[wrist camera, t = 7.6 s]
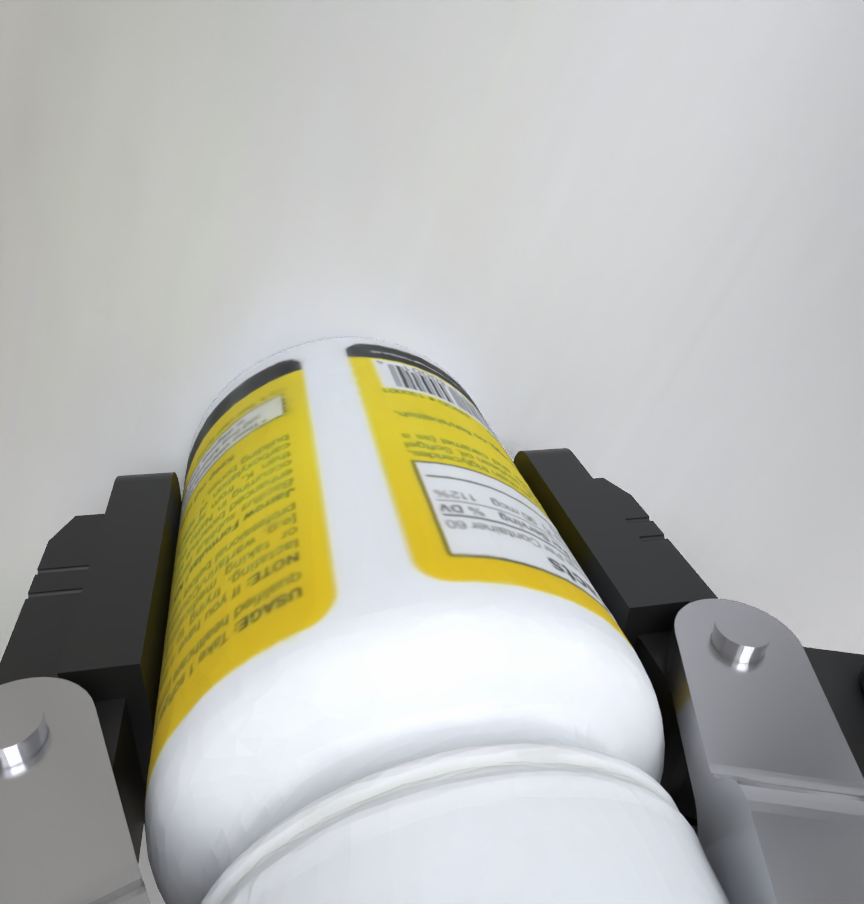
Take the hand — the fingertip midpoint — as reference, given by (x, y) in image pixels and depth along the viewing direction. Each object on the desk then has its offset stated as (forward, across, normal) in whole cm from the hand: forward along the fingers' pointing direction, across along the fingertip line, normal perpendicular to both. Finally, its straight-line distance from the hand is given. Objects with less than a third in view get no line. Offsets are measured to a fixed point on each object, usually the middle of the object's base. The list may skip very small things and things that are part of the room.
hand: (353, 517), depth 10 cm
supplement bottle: (+2, 0, 0) cm, 2 cm away
